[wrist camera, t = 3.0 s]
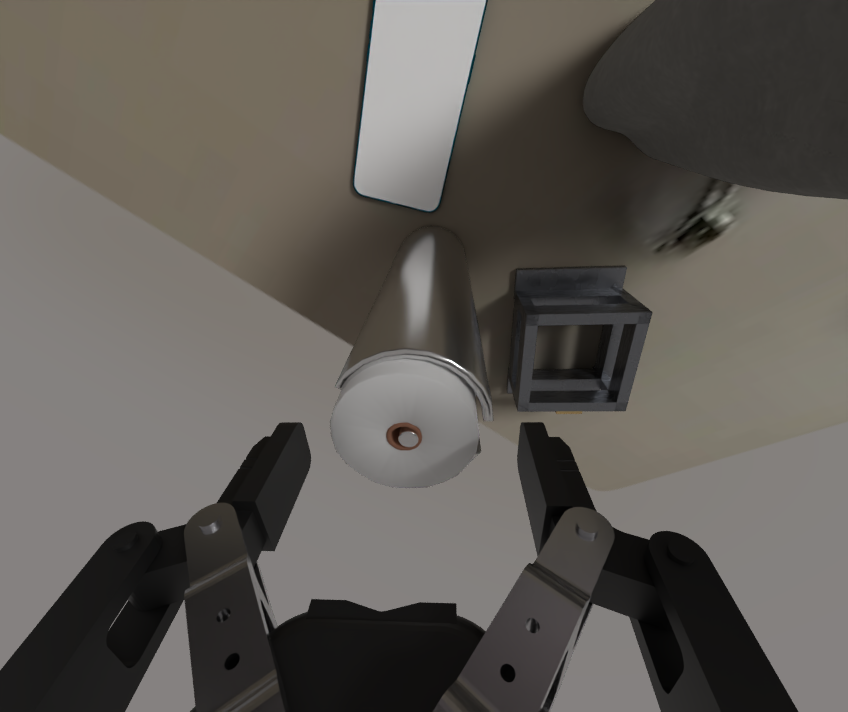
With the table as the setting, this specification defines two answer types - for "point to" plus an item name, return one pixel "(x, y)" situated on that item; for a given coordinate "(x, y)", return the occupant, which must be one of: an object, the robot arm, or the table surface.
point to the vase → (734, 91)
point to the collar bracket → (576, 305)
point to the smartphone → (414, 97)
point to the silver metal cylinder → (415, 371)
